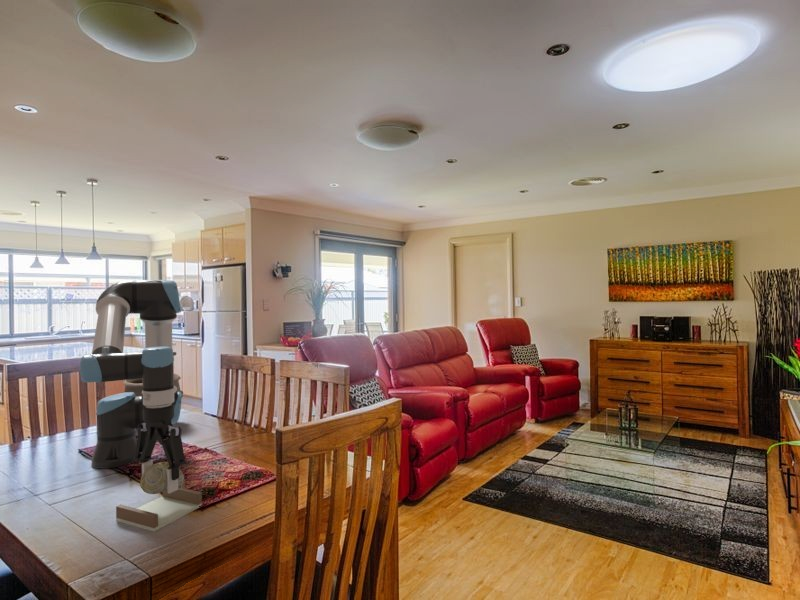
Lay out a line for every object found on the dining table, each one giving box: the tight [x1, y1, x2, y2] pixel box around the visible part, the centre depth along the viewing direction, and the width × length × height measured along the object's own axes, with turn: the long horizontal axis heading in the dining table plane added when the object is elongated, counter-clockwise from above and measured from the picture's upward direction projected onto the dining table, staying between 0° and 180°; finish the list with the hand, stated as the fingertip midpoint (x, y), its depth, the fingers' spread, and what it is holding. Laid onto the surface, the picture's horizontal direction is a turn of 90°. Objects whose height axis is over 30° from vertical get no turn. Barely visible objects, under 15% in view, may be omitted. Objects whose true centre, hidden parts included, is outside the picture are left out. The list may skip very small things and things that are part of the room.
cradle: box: [115, 487, 203, 532], centre depth 125 cm, size 14×15×4 cm
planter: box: [122, 373, 184, 398], centre depth 209 cm, size 25×24×22 cm
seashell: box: [139, 461, 185, 495], centre depth 125 cm, size 10×10×10 cm
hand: (160, 488), depth 125 cm, fingers closed on seashell, 9 cm apart
